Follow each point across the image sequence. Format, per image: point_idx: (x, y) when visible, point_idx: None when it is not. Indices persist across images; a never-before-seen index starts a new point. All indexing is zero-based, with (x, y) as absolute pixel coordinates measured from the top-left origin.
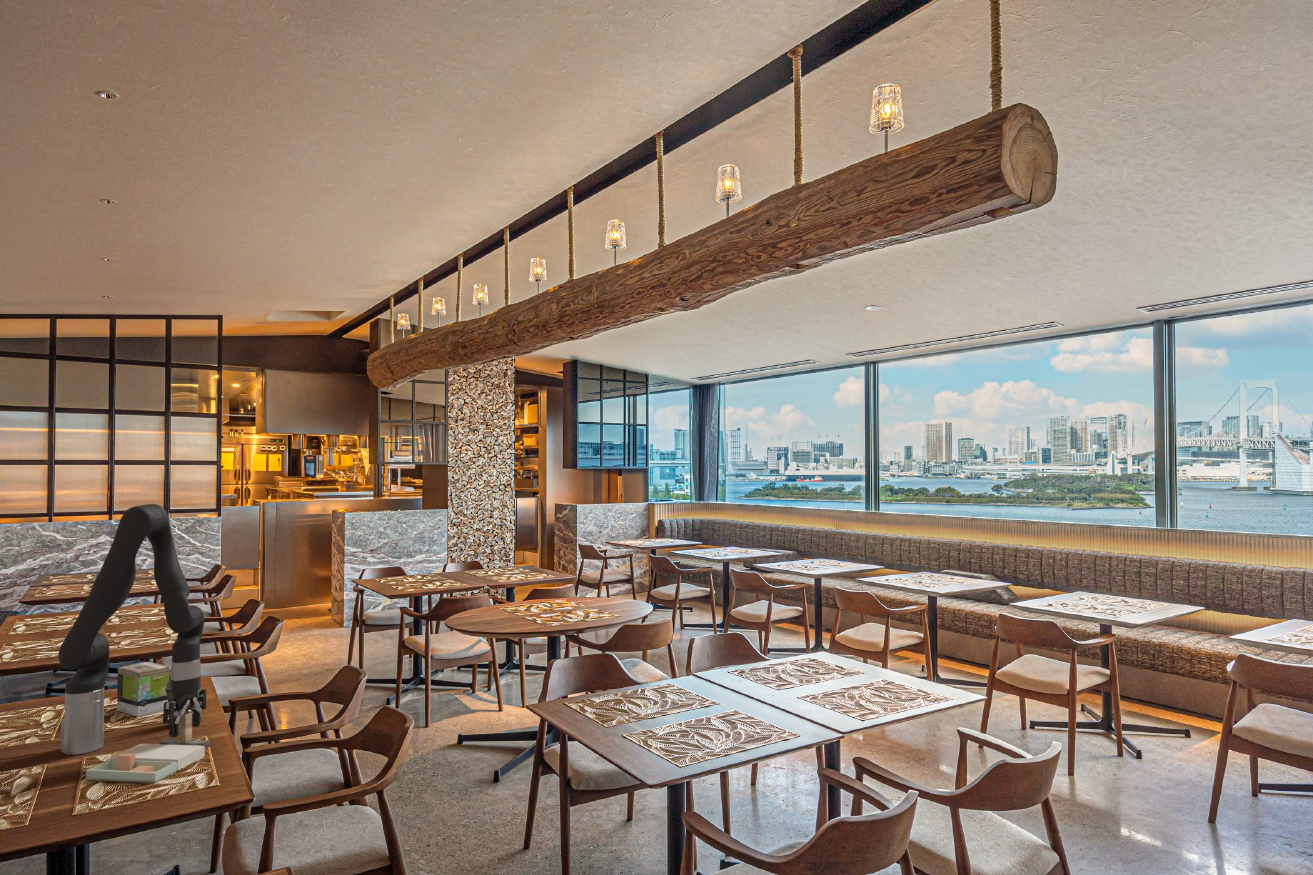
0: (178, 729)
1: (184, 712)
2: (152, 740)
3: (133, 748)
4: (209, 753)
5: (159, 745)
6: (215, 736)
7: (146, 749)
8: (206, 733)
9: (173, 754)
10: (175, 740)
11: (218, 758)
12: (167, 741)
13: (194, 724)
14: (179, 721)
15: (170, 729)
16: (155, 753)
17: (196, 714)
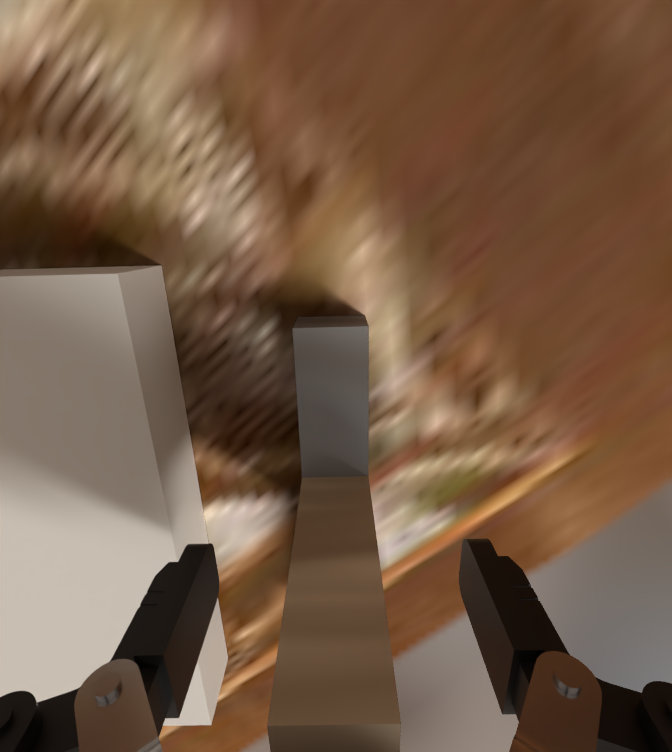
0: (201, 646)
1: (386, 729)
2: (471, 76)
3: (3, 311)
4: (272, 652)
5: (136, 472)
6: (544, 521)
7: (33, 442)
8: (615, 427)
9: (38, 666)
10: (345, 426)
11: (222, 718)
12: (317, 380)
13: (467, 571)
14: (283, 644)
15: (136, 627)
16: (4, 560)
17: (502, 693)
